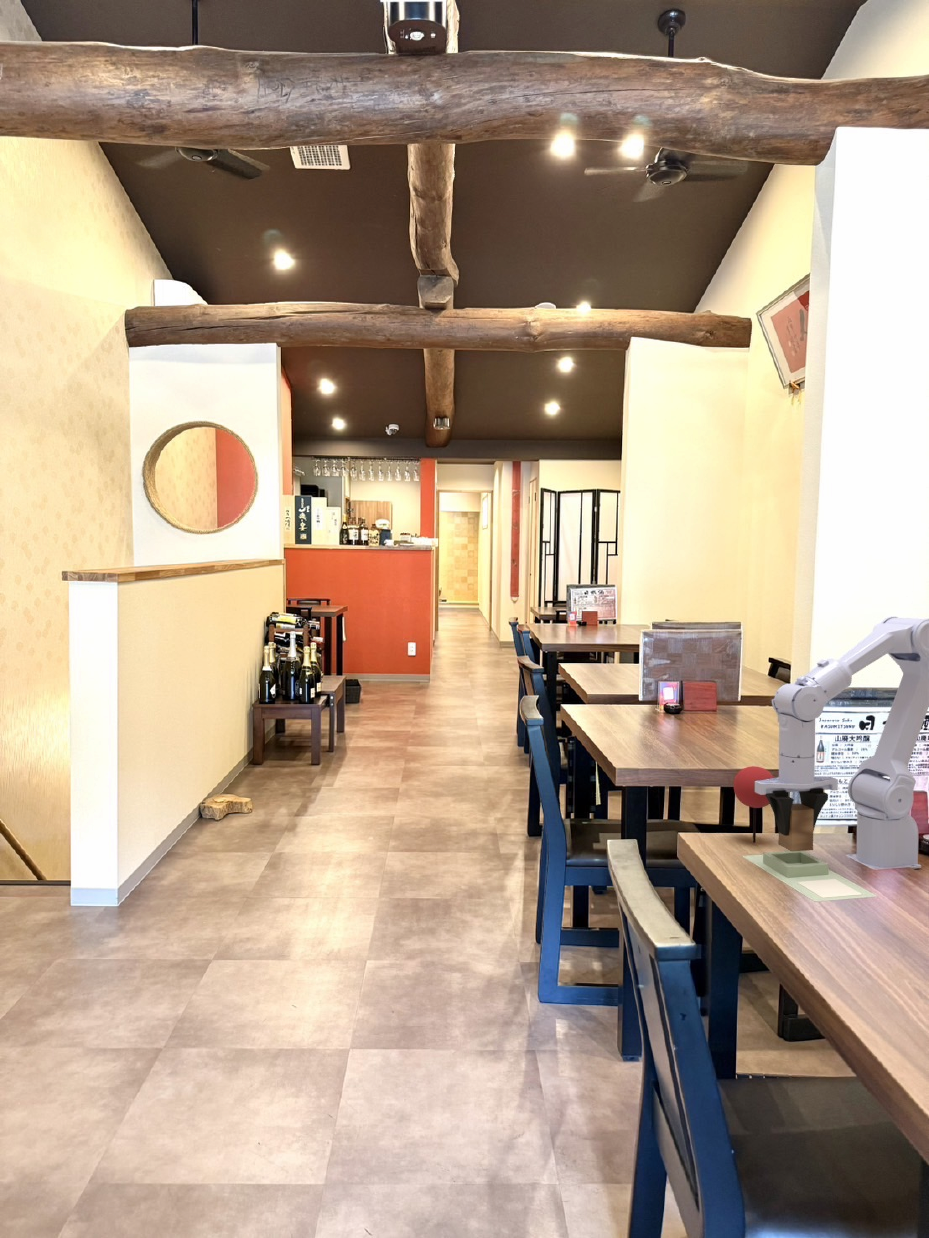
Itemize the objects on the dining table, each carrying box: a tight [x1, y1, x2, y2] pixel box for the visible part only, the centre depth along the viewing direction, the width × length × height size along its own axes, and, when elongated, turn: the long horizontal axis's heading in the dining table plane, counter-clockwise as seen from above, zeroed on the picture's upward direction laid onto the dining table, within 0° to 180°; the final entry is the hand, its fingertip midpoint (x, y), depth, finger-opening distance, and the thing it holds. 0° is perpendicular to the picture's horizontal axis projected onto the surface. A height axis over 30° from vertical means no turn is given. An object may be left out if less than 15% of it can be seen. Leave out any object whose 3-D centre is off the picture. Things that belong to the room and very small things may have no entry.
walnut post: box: [778, 802, 814, 852], centre depth 144 cm, size 4×4×7 cm
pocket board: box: [741, 850, 879, 903], centre depth 142 cm, size 11×22×2 cm, turn 11°
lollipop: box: [733, 765, 775, 844], centre depth 159 cm, size 8×8×15 cm
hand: (795, 833), depth 145 cm, fingers closed on walnut post, 4 cm apart
